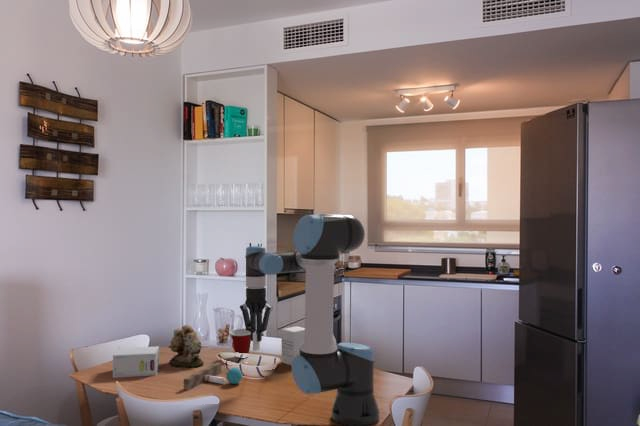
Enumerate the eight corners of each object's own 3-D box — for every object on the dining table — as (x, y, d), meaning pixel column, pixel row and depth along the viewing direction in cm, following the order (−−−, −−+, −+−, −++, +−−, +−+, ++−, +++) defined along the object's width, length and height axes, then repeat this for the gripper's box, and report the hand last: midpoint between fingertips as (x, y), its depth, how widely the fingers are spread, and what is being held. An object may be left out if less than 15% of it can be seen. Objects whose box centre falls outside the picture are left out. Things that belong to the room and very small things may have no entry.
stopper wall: (188, 390, 201) (188, 379, 201) (183, 389, 202) (183, 379, 202) (221, 372, 224) (221, 363, 224) (217, 372, 224) (217, 362, 224)
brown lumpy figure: (160, 364, 237) (160, 325, 237) (179, 358, 247) (179, 321, 248) (191, 370, 228) (191, 329, 228) (210, 363, 238) (210, 324, 239)
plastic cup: (225, 358, 245) (225, 332, 246) (237, 353, 256) (237, 327, 256) (246, 361, 242) (246, 334, 242) (257, 355, 252) (257, 329, 252)
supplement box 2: (296, 359, 245) (296, 325, 245) (309, 362, 238) (309, 328, 238) (280, 362, 239) (280, 328, 239) (294, 366, 232) (293, 331, 232)
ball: (220, 376, 208) (230, 388, 206) (230, 365, 207) (240, 377, 205) (228, 374, 213) (238, 385, 211) (238, 363, 212) (247, 374, 210)
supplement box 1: (112, 378, 217) (112, 355, 218) (117, 369, 230) (117, 347, 230) (156, 375, 221) (156, 352, 221) (159, 367, 234) (159, 345, 234)
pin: (221, 382, 207) (203, 379, 211) (223, 385, 209) (205, 382, 212) (223, 376, 209) (205, 373, 212) (226, 379, 210) (208, 376, 214)
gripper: (275, 286, 206) (276, 348, 206) (245, 285, 211) (245, 346, 211) (267, 289, 199) (267, 353, 199) (235, 287, 204) (236, 350, 204)
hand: (256, 349), depth 205 cm, fingers closed
